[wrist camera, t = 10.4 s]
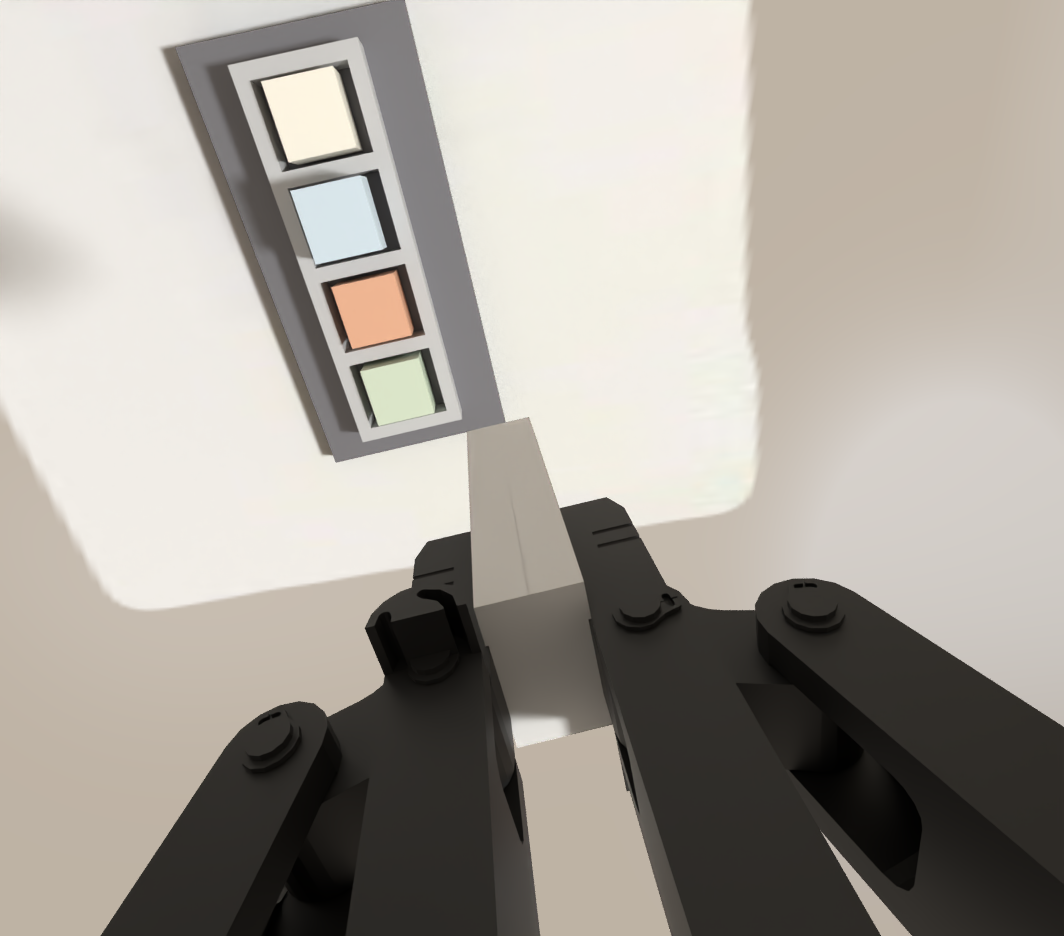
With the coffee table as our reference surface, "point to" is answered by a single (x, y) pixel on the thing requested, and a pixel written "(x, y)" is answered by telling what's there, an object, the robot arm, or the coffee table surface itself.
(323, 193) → the key blue
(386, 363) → the key sage
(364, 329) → the key terracotta
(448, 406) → the keypad
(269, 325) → the coffee table surface
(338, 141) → the key ivory
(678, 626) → the robot arm
